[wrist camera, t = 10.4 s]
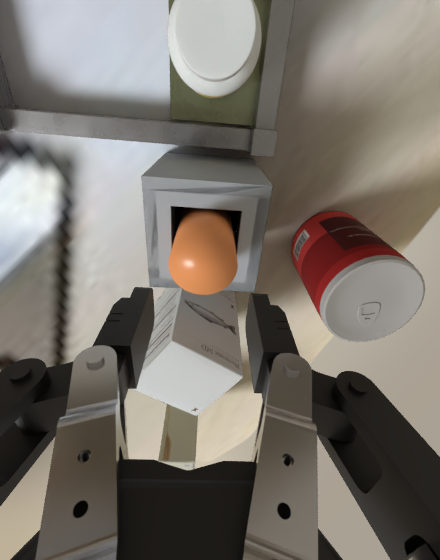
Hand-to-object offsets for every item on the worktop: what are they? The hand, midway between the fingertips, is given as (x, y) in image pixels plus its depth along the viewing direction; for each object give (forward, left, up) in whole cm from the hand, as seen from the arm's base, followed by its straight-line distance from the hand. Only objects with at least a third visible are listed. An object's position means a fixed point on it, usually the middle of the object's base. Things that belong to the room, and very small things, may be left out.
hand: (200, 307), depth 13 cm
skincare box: (-2, -29, -18) cm, 34 cm away
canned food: (+13, -4, -18) cm, 22 cm away
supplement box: (-1, -12, -18) cm, 21 cm away
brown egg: (0, 0, -10) cm, 10 cm away
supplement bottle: (0, +11, -17) cm, 21 cm away
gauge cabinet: (0, 0, -17) cm, 17 cm away
